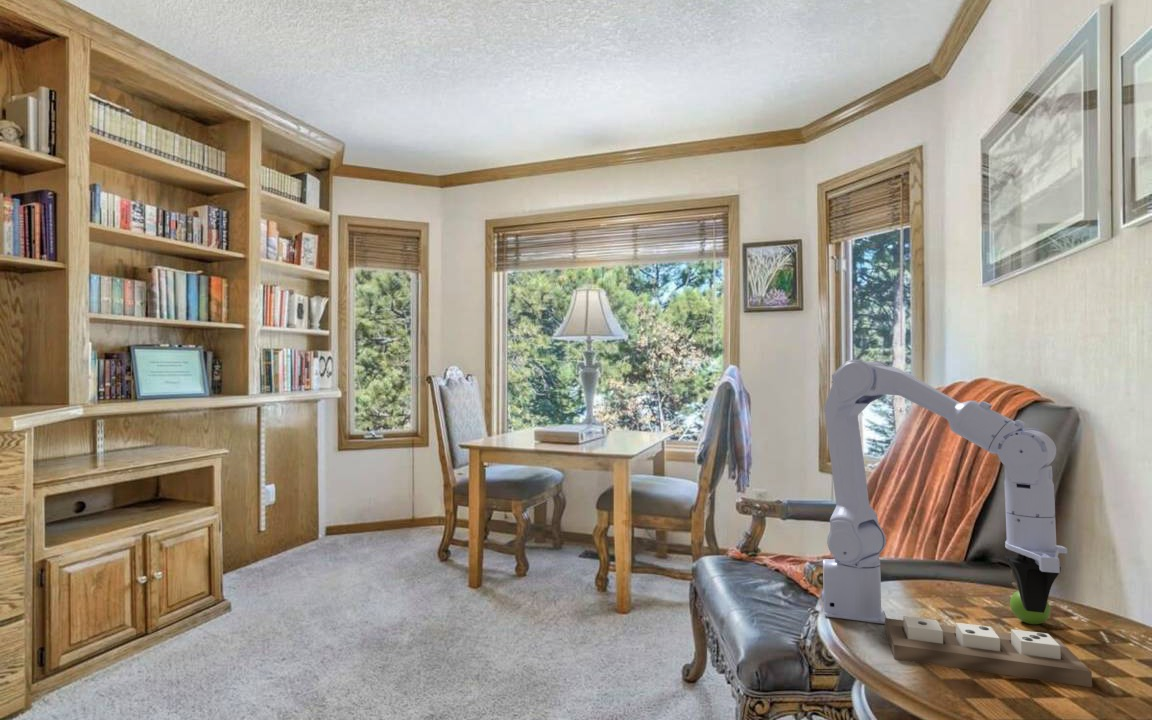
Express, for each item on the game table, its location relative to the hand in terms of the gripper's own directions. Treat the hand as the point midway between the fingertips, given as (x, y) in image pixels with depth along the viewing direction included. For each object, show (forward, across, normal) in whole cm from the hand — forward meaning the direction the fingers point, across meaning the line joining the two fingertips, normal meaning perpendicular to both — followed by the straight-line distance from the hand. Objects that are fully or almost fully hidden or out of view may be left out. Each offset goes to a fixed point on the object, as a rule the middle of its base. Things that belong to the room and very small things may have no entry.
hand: (1034, 610), depth 85 cm
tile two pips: (+6, 0, +7) cm, 9 cm away
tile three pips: (+6, 0, 0) cm, 6 cm away
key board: (+7, 0, +7) cm, 10 cm away
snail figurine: (+8, +18, -5) cm, 20 cm away
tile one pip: (+6, 0, +14) cm, 15 cm away
